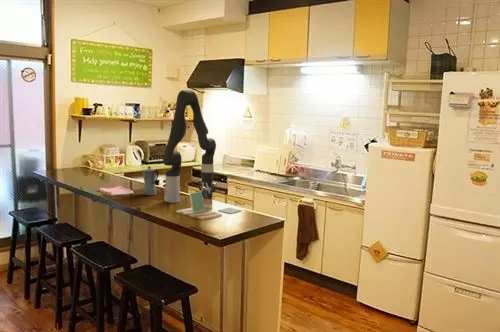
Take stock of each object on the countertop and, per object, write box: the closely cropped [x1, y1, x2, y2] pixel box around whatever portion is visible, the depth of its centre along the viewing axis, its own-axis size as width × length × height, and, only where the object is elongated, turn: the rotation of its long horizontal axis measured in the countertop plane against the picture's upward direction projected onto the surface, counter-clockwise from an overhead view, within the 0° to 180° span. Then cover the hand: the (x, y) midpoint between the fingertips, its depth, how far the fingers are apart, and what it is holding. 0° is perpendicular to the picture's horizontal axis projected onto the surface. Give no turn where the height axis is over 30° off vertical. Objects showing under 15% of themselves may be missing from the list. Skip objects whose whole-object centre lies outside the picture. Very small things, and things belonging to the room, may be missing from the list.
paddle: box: [203, 189, 213, 211], centre depth 258 cm, size 3×7×12 cm, turn 140°
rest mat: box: [217, 207, 242, 215], centre depth 256 cm, size 10×10×1 cm
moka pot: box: [142, 165, 159, 196], centre depth 295 cm, size 10×15×20 cm, turn 59°
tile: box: [189, 191, 205, 213], centre depth 246 cm, size 11×9×1 cm
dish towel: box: [97, 184, 135, 197], centre depth 301 cm, size 17×23×4 cm
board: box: [175, 207, 223, 221], centre depth 246 cm, size 24×14×1 cm, turn 50°
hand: (206, 198), depth 257 cm, fingers open, 5 cm apart
